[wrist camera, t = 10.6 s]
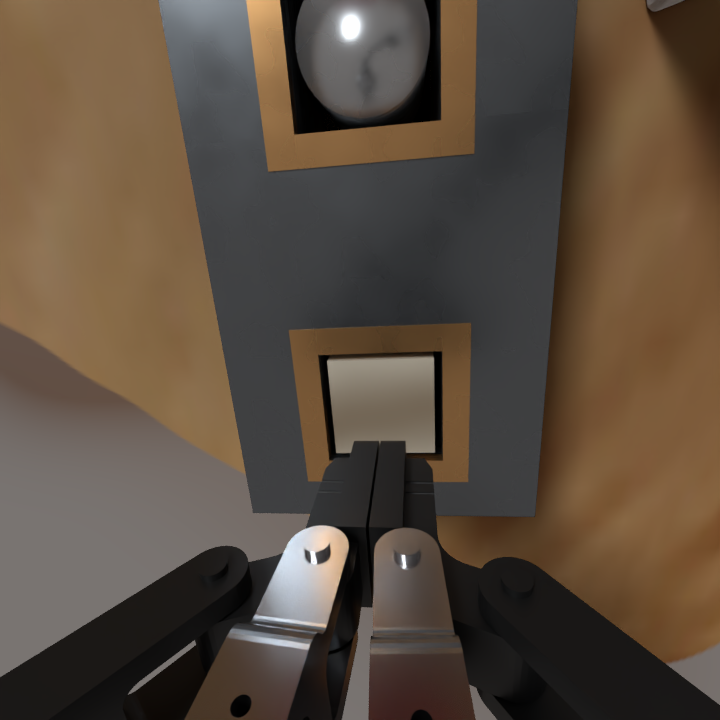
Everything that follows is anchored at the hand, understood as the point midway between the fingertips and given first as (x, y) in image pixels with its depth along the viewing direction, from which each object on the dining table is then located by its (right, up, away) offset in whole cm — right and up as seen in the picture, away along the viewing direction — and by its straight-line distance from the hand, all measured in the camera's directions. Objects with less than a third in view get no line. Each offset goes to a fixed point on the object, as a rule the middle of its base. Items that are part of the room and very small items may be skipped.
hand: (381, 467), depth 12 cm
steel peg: (0, +15, +6) cm, 16 cm away
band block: (0, +9, +8) cm, 12 cm away
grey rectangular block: (+1, +3, +10) cm, 10 cm away
